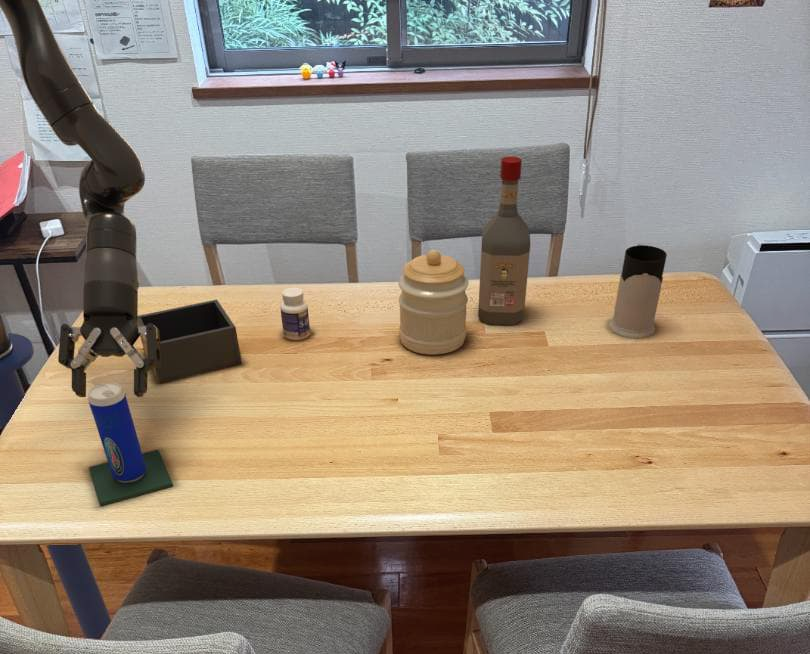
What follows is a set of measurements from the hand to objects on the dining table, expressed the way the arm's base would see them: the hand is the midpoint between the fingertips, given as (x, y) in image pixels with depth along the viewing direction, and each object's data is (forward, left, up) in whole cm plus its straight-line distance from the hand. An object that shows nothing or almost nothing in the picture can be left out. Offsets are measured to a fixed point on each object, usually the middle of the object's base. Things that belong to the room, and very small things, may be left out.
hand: (109, 396), depth 118 cm
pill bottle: (+38, +31, -14) cm, 51 cm away
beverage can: (-1, -2, -13) cm, 13 cm away
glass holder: (+100, +6, -14) cm, 102 cm away
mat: (-1, -2, -14) cm, 14 cm away
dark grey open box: (+17, +31, -14) cm, 38 cm away
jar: (+61, +17, -14) cm, 65 cm away
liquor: (+78, +20, -14) cm, 82 cm away
